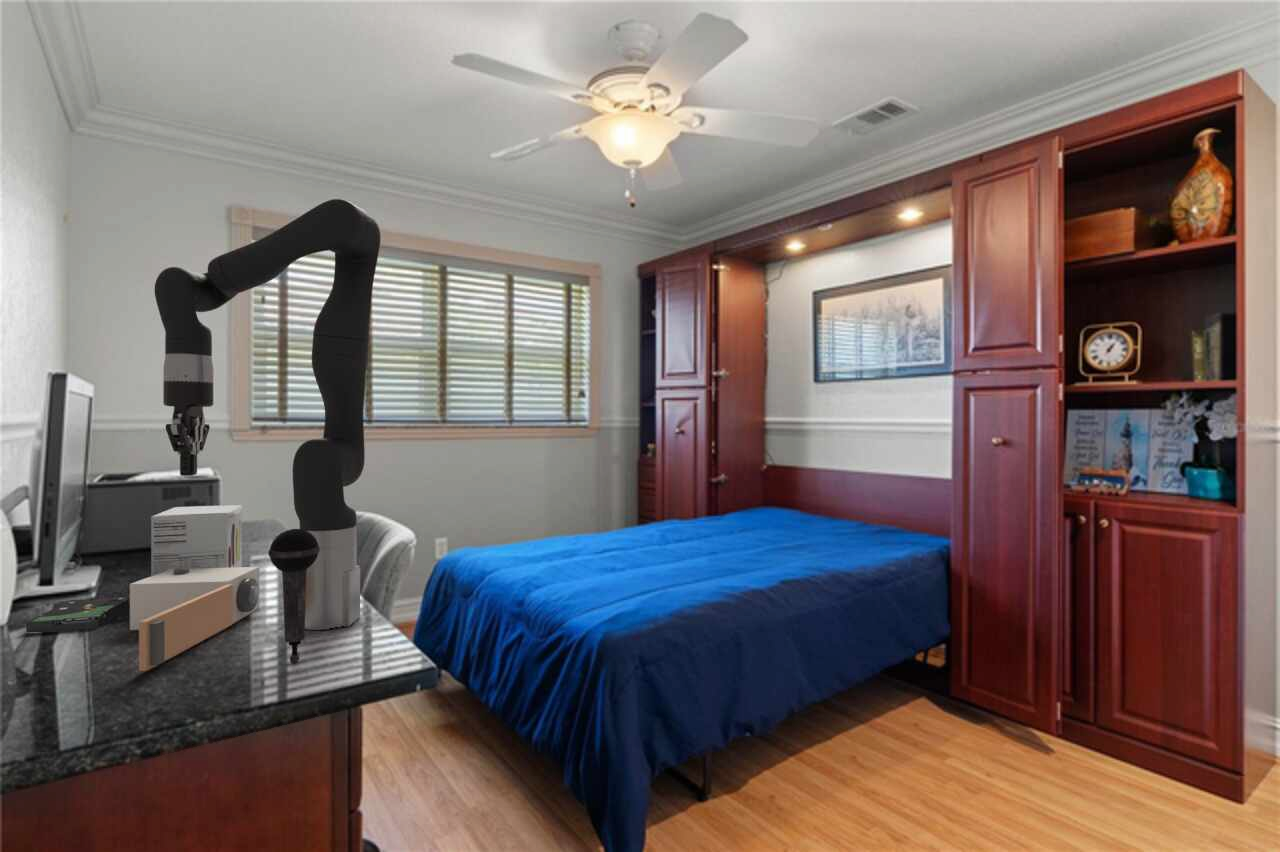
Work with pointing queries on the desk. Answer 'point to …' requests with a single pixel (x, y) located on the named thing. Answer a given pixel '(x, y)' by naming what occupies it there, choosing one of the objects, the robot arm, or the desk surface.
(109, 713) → the desk surface
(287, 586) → the microphone
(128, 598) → the disk drive
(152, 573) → the supplement box
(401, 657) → the desk surface
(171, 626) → the door
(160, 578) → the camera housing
